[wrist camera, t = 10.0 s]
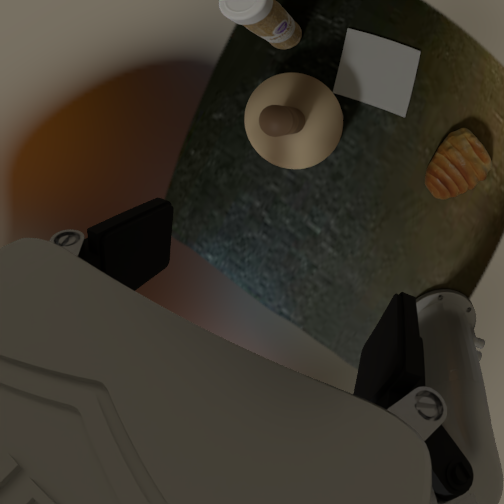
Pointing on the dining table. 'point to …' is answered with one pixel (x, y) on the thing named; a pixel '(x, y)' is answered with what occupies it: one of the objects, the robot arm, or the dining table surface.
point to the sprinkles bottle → (264, 20)
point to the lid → (293, 120)
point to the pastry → (457, 165)
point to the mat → (377, 71)
